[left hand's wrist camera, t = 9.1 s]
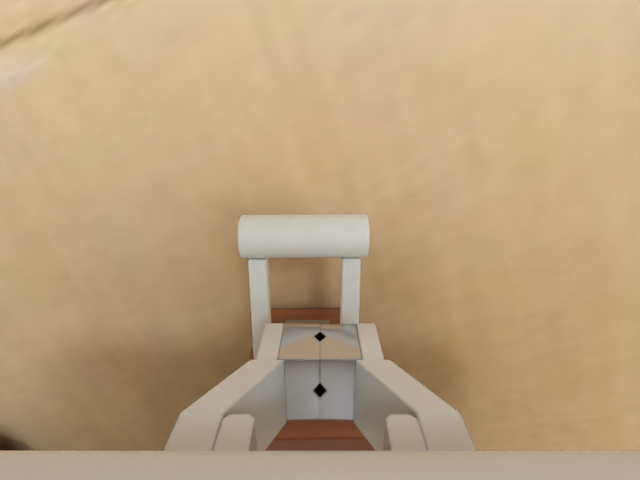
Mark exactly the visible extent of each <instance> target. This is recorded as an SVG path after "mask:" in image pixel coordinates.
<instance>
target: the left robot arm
mask: <svg viewBox="0 0 640 480" xmlns="http://www.w3.org/2000/svg"><path fill="white" fill-rule="evenodd" d="M286 420H354V423H355V425H356V426H357V427H358V428H359V430H360V431H361V432H362V434H363V435H364V436H365V438H366V439H367V440H368V442H369V443H370V444H371V446H372V447H373V448H374V450H375V451H265V450H266V449H267V447H268V446H269V445H270V443H271V442H272V441H273V439H274V438H275V437H276V435H277V434H278V433H279V431H280V430H281V429H282V428H283V426H284V425H285V424H286ZM0 480H640V451H477V450H476V448H475V445H474V443H473V441H472V439H471V436H470V434H469V432H468V430H467V427H466V425H465V423H464V421H463V418H462V416H461V414H460V413H459V412H458V411H457V410H455V409H454V408H453V407H451V406H450V405H449V404H447V403H446V402H445V401H444V400H442V399H441V398H440V397H438V396H437V395H436V394H434V393H433V392H432V391H430V390H429V389H428V388H426V387H425V386H424V385H422V384H421V383H420V382H418V381H417V380H416V379H415V378H413V377H412V376H411V375H409V374H408V373H407V372H405V371H404V370H403V369H401V368H400V367H399V366H397V365H396V364H395V363H393V362H392V361H391V360H384V356H383V352H382V348H381V344H380V340H379V336H378V332H377V328H376V325H375V324H374V323H357V324H322V325H320V324H297V323H284V324H283V323H266V324H265V325H264V328H263V332H262V336H261V340H260V344H259V348H258V352H257V356H256V360H249V361H248V362H247V363H245V364H244V365H243V366H241V367H240V368H239V369H237V370H236V371H235V372H233V373H232V374H231V375H229V376H228V377H227V378H225V379H224V380H223V381H221V382H220V383H219V384H217V385H216V386H215V387H213V388H212V389H211V390H209V391H208V392H207V393H206V394H204V395H203V396H202V397H200V398H199V399H198V400H196V401H195V402H194V403H192V404H191V405H190V406H188V407H187V408H186V409H184V410H183V411H182V412H180V414H179V417H178V419H177V421H176V423H175V425H174V428H173V430H172V432H171V434H170V436H169V439H168V441H167V443H166V445H165V448H164V450H163V451H0Z"/></svg>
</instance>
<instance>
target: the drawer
mask: <svg viewBox="0 0 640 480" xmlns="http://www.w3.org/2000/svg"><path fill="white" fill-rule="evenodd" d="M237 240H238V250H239V254H240V256H241V258H249V260H248V271H249V287H250V303H251V319H252V336H253V348H252V351H251V355H250V359H249V360H256V356H257V352H258V348H259V344H260V340H261V336H262V332H263V328H264V325H265V324H266V323H283V324H284V323H297V324H320V325H322V324H357V323H359V300H360V268H361V260H360V257H367V255H368V252H369V243H370V230H369V220H368V217H367V215H366V214H305V215H241V216H240V219H239V222H238V231H237ZM268 258H341V287H340V308H318V309H271V304H270V282H269V260H268ZM265 451H375V450H374V448H373V447H372V446H371V444H370V443H369V442H368V440H367V439H366V438H365V436H364V435H363V434H362V432H361V431H360V430H359V428H358V427H357V426H356V425H355V423H354V420H286V424H285V425H284V426H283V428H282V429H281V430H280V431H279V433H278V434H277V435H276V437H275V438H274V439H273V441H272V442H271V443H270V445H269V446H268V447H267V449H266V450H265Z"/></svg>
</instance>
